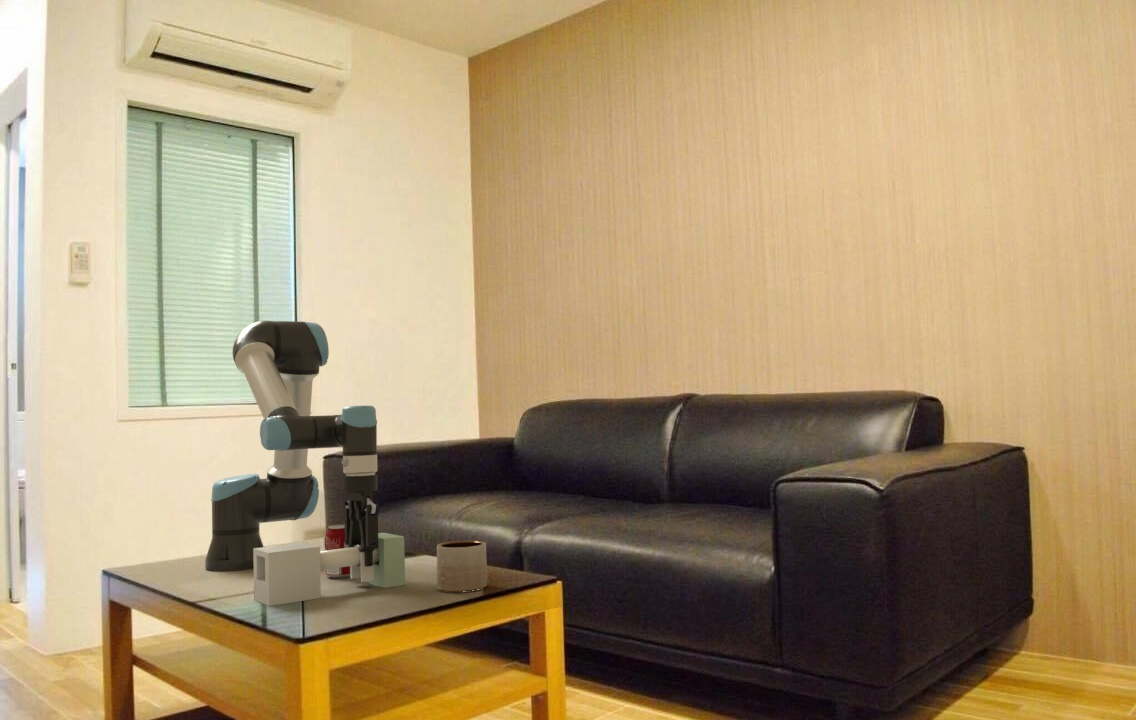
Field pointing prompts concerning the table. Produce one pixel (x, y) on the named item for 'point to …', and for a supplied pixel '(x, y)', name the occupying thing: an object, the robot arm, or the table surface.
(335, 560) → the slip tube
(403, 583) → the socket block
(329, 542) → the soda can
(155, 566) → the table surface
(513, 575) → the table surface
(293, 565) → the sleeve block
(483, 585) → the planter
